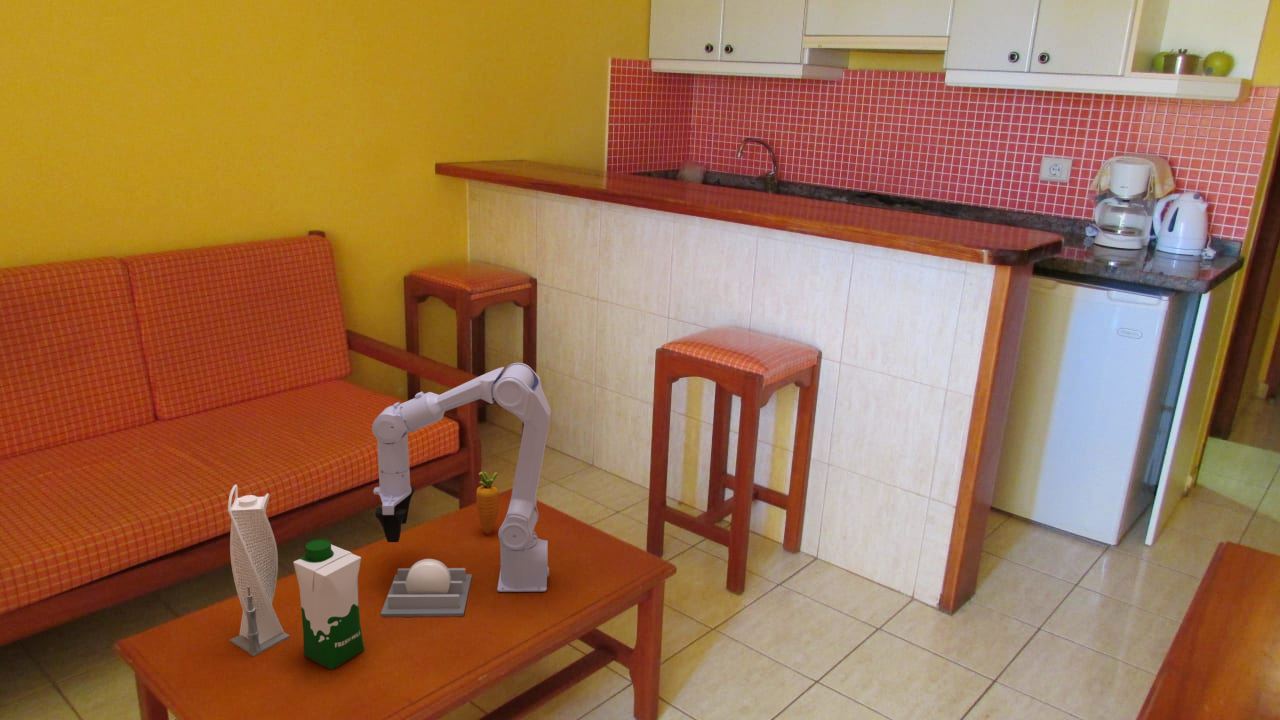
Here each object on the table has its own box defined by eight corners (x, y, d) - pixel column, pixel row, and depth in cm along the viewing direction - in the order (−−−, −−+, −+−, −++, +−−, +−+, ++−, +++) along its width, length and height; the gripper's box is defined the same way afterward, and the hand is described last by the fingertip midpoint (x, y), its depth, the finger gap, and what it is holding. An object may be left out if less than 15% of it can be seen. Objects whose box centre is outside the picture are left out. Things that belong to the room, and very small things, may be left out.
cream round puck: (451, 596, 170) (450, 558, 168) (449, 603, 168) (448, 565, 166) (408, 596, 170) (407, 558, 167) (406, 603, 167) (404, 565, 165)
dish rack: (471, 576, 178) (471, 563, 178) (463, 616, 165) (463, 601, 164) (395, 577, 177) (394, 563, 176) (380, 616, 164) (379, 602, 163)
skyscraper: (224, 639, 156) (208, 492, 148) (266, 618, 162) (252, 476, 154) (253, 656, 151) (238, 506, 143) (295, 634, 158) (282, 489, 150)
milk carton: (337, 632, 159) (330, 530, 153) (372, 649, 154) (366, 545, 149) (295, 656, 152) (286, 551, 146) (331, 675, 147) (323, 567, 142)
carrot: (502, 529, 198) (501, 467, 194) (496, 540, 193) (495, 476, 189) (480, 528, 198) (478, 465, 194) (473, 538, 194) (472, 475, 189)
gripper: (380, 453, 178) (384, 515, 182) (364, 483, 165) (368, 550, 168) (416, 453, 179) (419, 515, 183) (403, 484, 165) (406, 550, 169)
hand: (397, 532), depth 176 cm, fingers open, 7 cm apart
